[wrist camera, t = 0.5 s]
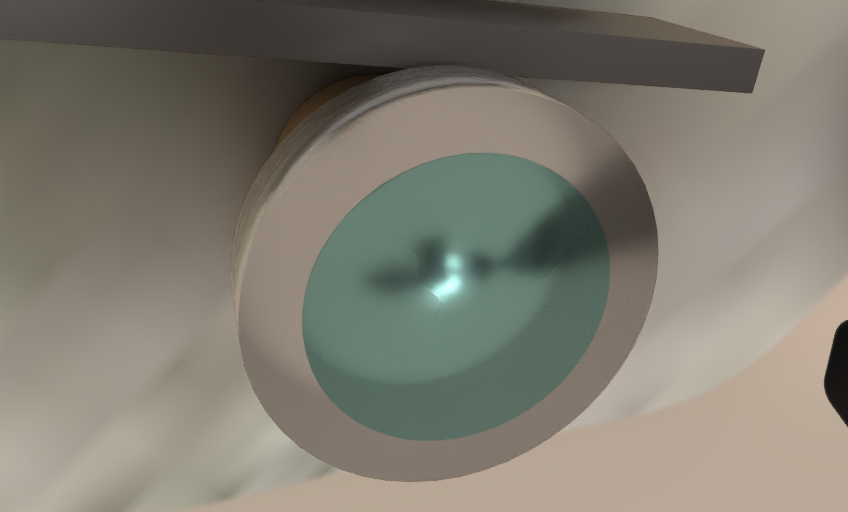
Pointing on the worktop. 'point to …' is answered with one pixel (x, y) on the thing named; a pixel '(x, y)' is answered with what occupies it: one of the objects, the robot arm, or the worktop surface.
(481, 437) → the disc
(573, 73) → the tray
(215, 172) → the worktop surface
